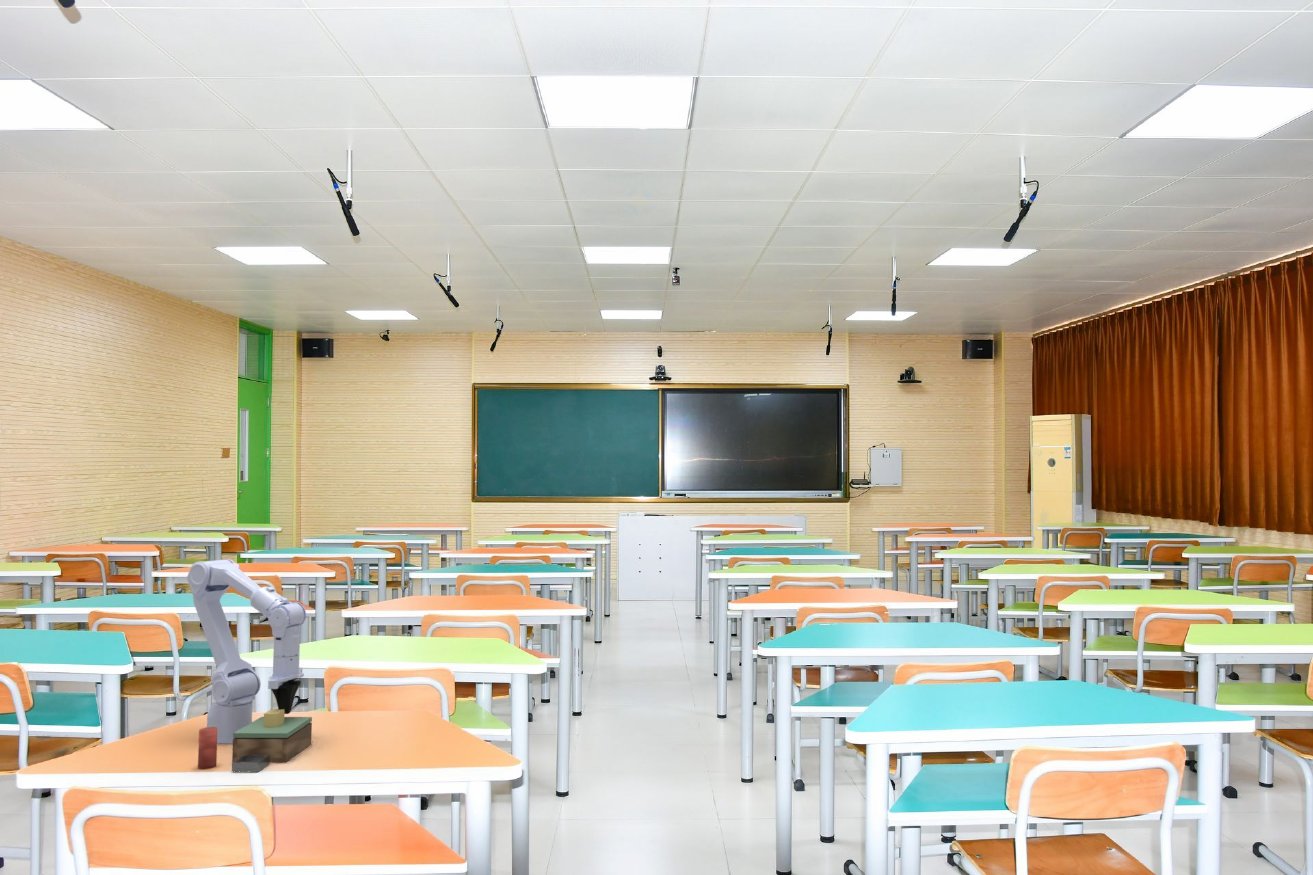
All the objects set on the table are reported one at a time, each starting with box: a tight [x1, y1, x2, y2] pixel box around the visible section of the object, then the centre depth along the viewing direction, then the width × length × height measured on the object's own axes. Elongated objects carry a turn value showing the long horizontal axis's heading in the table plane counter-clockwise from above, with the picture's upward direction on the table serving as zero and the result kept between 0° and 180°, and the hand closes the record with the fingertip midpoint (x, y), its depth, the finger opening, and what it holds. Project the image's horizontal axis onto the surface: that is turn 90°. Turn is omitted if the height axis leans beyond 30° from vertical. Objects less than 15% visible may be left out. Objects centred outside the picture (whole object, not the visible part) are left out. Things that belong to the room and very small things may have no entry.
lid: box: [233, 708, 313, 738], centre depth 202 cm, size 12×14×4 cm
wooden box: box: [231, 722, 313, 763], centre depth 202 cm, size 12×14×5 cm
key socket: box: [231, 755, 271, 773], centre depth 191 cm, size 6×6×2 cm
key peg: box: [197, 726, 218, 770], centre depth 192 cm, size 4×4×8 cm
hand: (284, 713), depth 208 cm, fingers closed
